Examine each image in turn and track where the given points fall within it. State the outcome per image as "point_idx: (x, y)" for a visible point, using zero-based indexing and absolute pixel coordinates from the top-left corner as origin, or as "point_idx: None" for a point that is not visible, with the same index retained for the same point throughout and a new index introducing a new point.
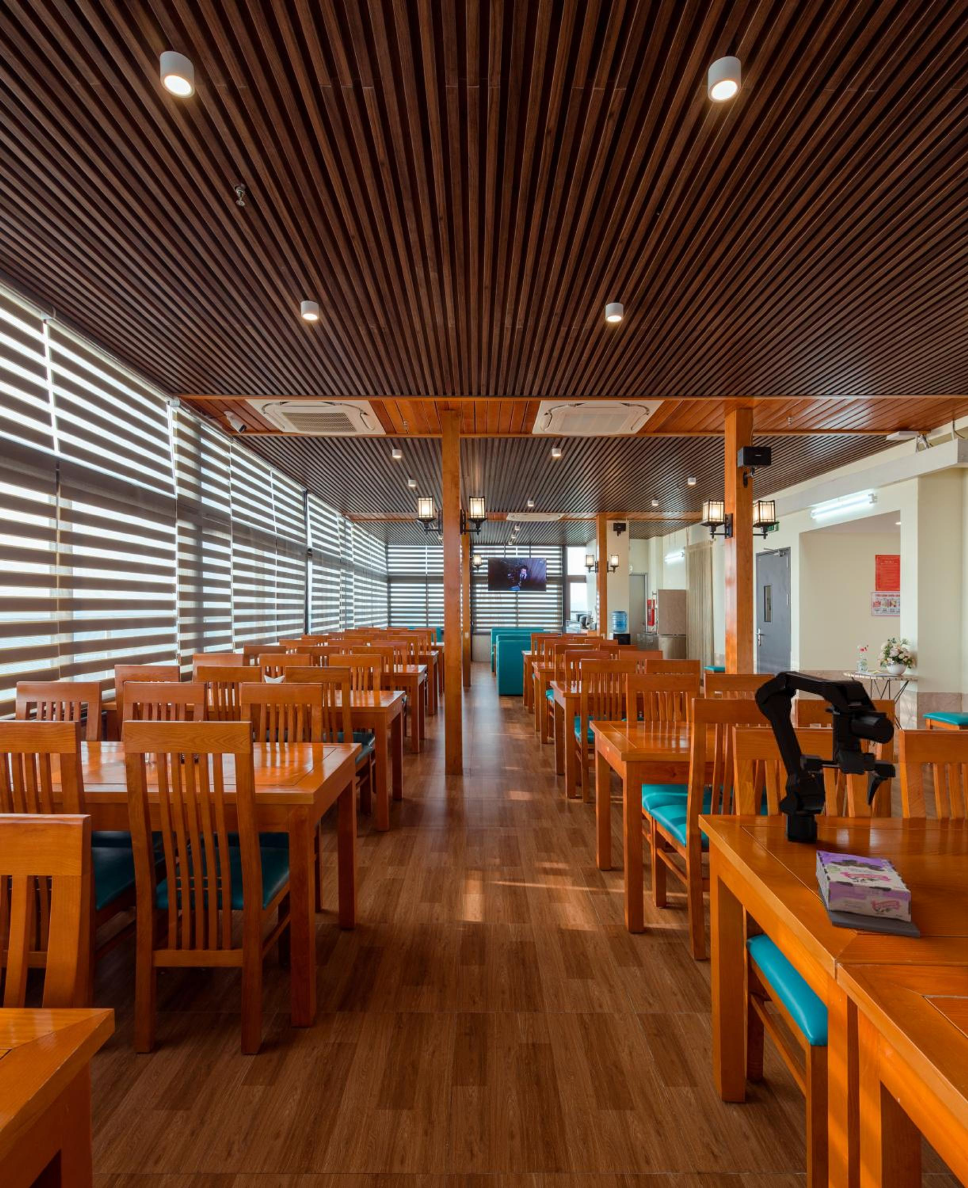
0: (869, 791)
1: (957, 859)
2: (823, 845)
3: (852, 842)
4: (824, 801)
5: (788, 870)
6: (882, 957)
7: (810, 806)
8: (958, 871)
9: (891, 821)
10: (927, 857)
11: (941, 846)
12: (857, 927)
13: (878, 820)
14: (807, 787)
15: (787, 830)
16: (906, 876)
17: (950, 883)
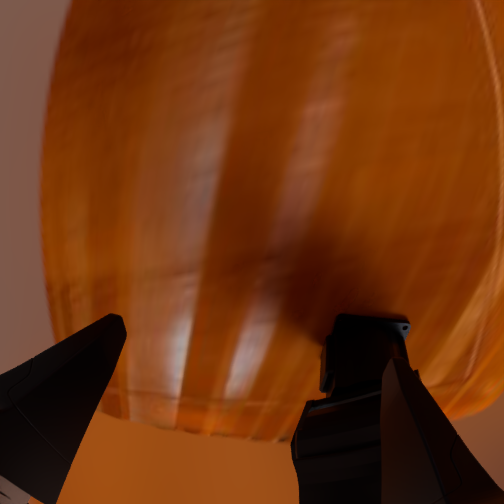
0: (67, 381)
1: (43, 263)
2: (319, 306)
3: (230, 334)
4: (303, 429)
5: (497, 76)
6: None
7: (368, 403)
8: (39, 193)
9: (143, 415)
10: (83, 264)
11: (69, 323)
12: None
13: (162, 420)
14: (377, 474)
15: (406, 351)
16: (136, 105)
17: (57, 102)
